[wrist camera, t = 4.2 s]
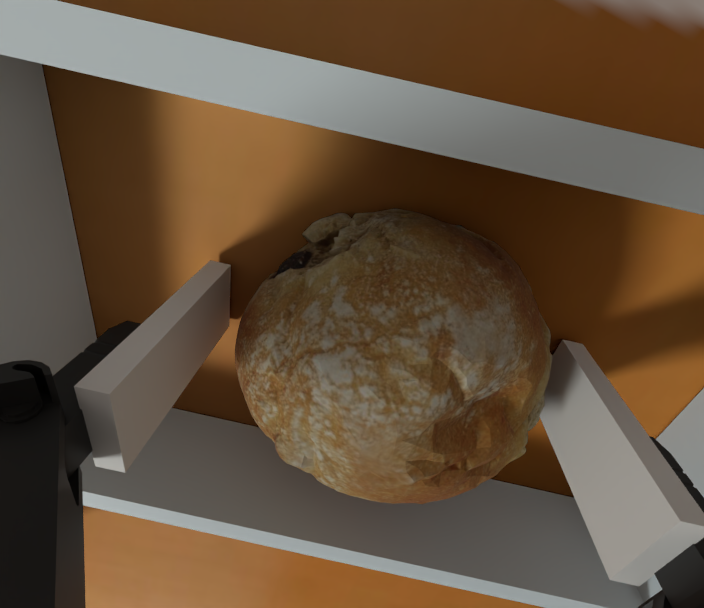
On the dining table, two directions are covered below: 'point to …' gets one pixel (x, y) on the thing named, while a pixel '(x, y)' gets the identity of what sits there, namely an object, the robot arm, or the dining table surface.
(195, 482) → the hollow rectangular frame
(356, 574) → the dining table surface
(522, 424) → the bread roll
